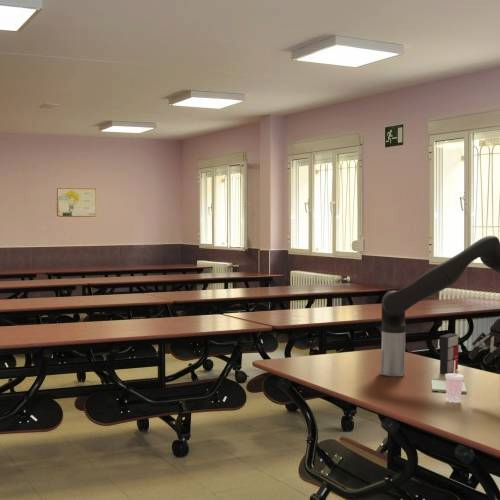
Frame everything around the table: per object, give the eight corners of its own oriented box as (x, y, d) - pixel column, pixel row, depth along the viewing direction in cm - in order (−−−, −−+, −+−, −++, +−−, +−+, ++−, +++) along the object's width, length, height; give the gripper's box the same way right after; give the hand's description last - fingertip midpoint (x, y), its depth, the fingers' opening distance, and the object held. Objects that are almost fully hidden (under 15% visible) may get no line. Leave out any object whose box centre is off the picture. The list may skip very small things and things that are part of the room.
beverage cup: (462, 404, 245) (463, 363, 245) (443, 402, 247) (444, 361, 247) (463, 400, 251) (464, 359, 250) (445, 398, 253) (446, 358, 252)
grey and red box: (448, 374, 291) (449, 337, 290) (438, 373, 294) (439, 336, 293) (458, 370, 300) (459, 334, 299) (448, 368, 303) (449, 333, 302)
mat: (432, 391, 262) (432, 389, 262) (431, 380, 280) (431, 378, 280) (466, 393, 260) (466, 391, 260) (463, 382, 277) (463, 380, 277)
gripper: (526, 336, 247) (496, 371, 245) (500, 329, 261) (471, 362, 258) (513, 321, 246) (483, 356, 243) (488, 315, 259) (459, 348, 257)
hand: (477, 359), depth 251 cm, fingers open, 8 cm apart
